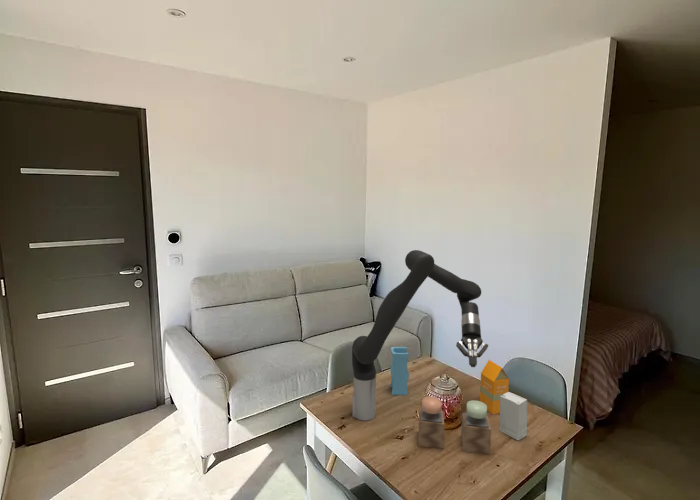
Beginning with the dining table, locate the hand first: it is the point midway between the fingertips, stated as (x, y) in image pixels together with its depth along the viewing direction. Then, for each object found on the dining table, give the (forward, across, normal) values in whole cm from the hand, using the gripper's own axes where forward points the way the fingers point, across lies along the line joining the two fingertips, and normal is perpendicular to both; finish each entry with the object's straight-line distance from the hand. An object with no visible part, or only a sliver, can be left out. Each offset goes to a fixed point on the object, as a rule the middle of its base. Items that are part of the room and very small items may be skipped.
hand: (473, 366), depth 150 cm
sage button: (+18, 0, -1) cm, 18 cm away
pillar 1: (+27, -16, +8) cm, 32 cm away
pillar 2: (+27, 0, +8) cm, 28 cm away
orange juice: (+7, +11, +28) cm, 31 cm away
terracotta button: (+18, -16, -1) cm, 24 cm away
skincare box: (+20, +15, +15) cm, 29 cm away
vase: (+2, -30, +33) cm, 44 cm away
